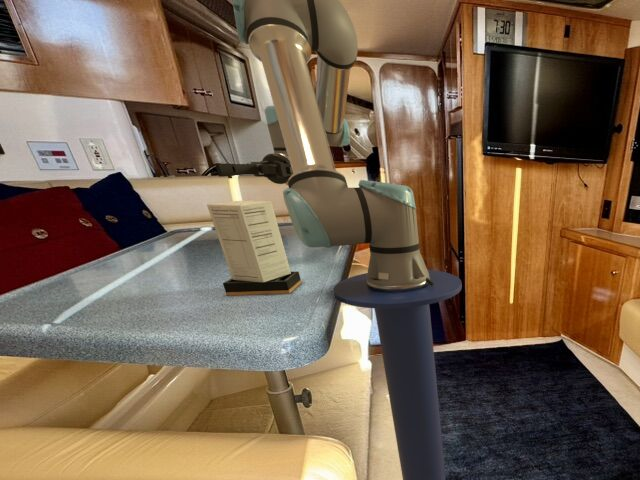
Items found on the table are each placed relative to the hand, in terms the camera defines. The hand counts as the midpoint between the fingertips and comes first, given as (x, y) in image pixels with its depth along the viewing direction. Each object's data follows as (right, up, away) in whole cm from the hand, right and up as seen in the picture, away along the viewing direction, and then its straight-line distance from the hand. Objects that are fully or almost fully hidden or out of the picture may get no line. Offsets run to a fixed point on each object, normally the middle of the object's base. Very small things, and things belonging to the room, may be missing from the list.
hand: (249, 170), depth 95 cm
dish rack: (+1, -27, +4) cm, 28 cm away
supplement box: (+1, -25, +3) cm, 25 cm away
